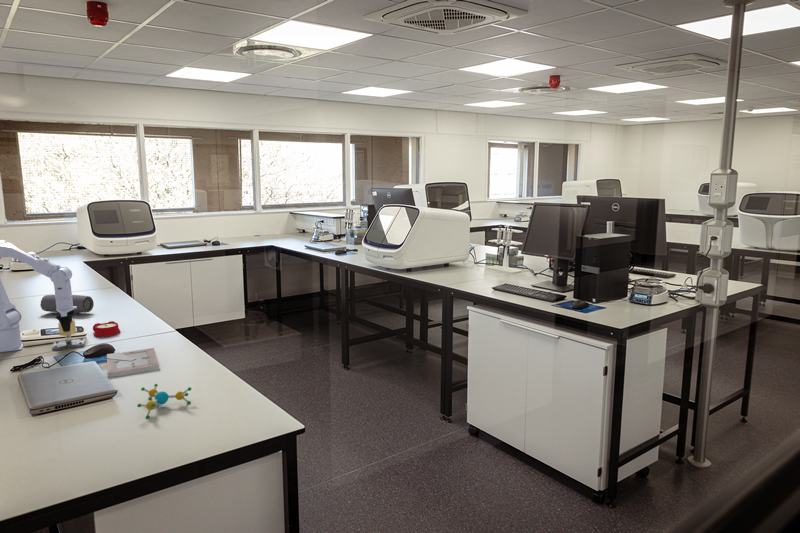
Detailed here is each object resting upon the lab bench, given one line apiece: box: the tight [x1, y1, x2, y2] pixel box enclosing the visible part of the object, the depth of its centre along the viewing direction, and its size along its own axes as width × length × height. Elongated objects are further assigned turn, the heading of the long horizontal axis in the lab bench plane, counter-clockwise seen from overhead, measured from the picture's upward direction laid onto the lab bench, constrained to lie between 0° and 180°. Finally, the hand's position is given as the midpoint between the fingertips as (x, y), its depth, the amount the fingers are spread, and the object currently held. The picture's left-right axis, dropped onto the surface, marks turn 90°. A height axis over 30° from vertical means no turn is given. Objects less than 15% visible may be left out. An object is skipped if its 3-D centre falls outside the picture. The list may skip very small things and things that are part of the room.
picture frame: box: [106, 347, 160, 378], centre depth 192 cm, size 16×2×22 cm
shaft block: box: [51, 335, 86, 351], centre depth 212 cm, size 11×8×5 cm
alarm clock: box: [92, 320, 121, 338], centre depth 230 cm, size 10×6×15 cm
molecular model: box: [137, 383, 192, 420], centre depth 157 cm, size 16×5×15 cm
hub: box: [57, 319, 77, 336], centre depth 211 cm, size 6×6×5 cm
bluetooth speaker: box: [40, 294, 95, 316], centre depth 261 cm, size 23×9×10 cm, turn 84°
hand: (67, 329), depth 211 cm, fingers closed on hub, 6 cm apart
